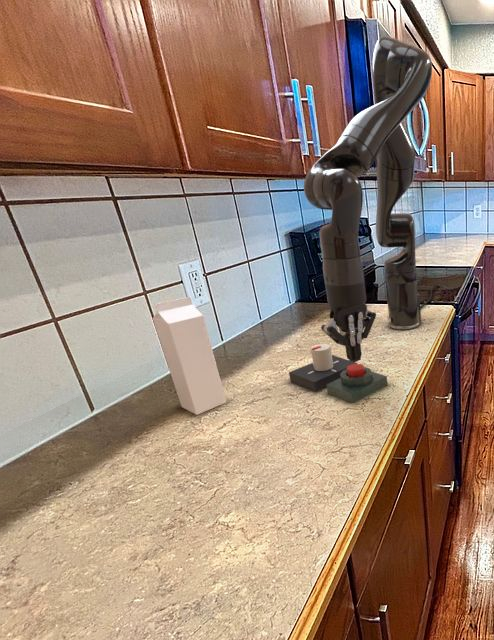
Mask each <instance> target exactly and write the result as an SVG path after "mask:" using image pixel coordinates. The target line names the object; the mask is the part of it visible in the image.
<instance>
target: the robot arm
mask: <svg viewBox="0 0 494 640" xmlns="http://www.w3.org/2000/svg"><path fill="white" fill-rule="evenodd" d="M371 72H372V85H373V95H374V96H373V97H374V104H373V105H371V106H369V107H367V108H365V109H362V110H361V111H360V112H358V113H357V114H356V115H354V117H352V119H350V121H349V122H348V123H347V125H346V126H345V128H344V130H343V131H342V133H341V135H340V136H339V137H338V139H337V141H336V143H335V144H334V145H333V146H332V147H331V148H330V149H329V150H328V151H326V152H325V153H324V154H323V155H322V156H321V157H320V158H319V159H318V160H317V161H316V162H314V163H313V165H311V167H310V168H309V169H308V172H307V173H306V176H305V178H304V181H303V192H304V196H305V198H306V200H307V202H308V203H309V204H310V205H311V206H312V207H315V209H319V210H324V211H325V210H326V211H327V210H328V211H329V210H330V211H331V217H330V223H327V224H324V225H322V226H321V227H320V228H319V232H318V233H319V242H320V250H321V256H322V273H323V280H324V286H325V287H324V288H325V294H326V300H327V304H328V306H329V308H330V311H329V315H328V316H329V320H328V322H327V323H326V324H324V323H323V324H322V325H321V327H320V330H321V331H322V332H323V333H325V334H326V335H327V336H328V337H329V338H330V339H331V340H332V341H333V342H334V343H335V344H337V345H341V346H343V347H345V353H346V354H345V355H346V359H347V360H349V361H352V362H355V363H358V362H359V361H361V360H362V355H363V354H362V353H363V352H362V345H361V344H362V341H363V340H364V339H367V338H368V337H369V335H370V332H371V330H372V327H373V325H374V322H375V320H376V317H377V313H376V312H375V311H370V310H369V309H368V306H367V304H366V301H367V290H366V281H365V271H364V265H363V261H362V257H361V247H360V238H359V230H360V225H361V217H362V211H363V204H364V192H363V187H362V184H361V181H360V179H359V178H358V177H360V176H362V175H365V174H366V173H367V172H369V171H370V169H371V167H372V166H373V164H374V162H375V161H376V166H375V167H376V186H377V187H376V188H377V189H376V191H377V195H376V196H377V199H376V213H375V214H376V215H375V237H376V241H377V243H378V245H379V246H380V247H382V248H387V249H388V248H402V249H401V251H400V252H399V253H397V254H396V255H395V256H392V257H390V258H387V259H386V260H385V261H384V262H383V266H384V278H385V288H386V300H387V301H386V302H387V314H388V315H387V316H386V317H387V321H388V326H389V328H391V329H394V330H411V329H416V328H417V327H419V326H420V324H421V323H422V314H421V309H422V308H423V307H425V306H426V305H427V304H428V303H429V302H430V301H431V300H432V299H433V291H434V290H435V289H436V288H440V285H439V284H435V285H433V287H432V288H431V289H430V290H429V292H430V294H429V297H428V299H427V300H426V301H424V302H423V303H422V304H421V296H420V293H419V292H418V283H417V282H418V279H417V264H416V263H417V262H416V258H417V257H416V224H415V220H414V217H413V216H412V214H410V213H407V212H405V213H401V212H400V213H392V212H393V210H394V208H395V206H396V204H397V203H398V201H399V200H400V199H401V198H402V197H403V196H404V195H405V193H406V192H407V191H408V190H409V189H410V186H411V185H412V183H413V181H414V178H415V167H416V150H415V147H414V144H413V142H412V139H411V136H410V135H409V132H408V130H407V128H406V126H405V124H404V121H405V120H406V119H407V118H408V116H409V115H410V114H411V113H412V112H413V111H414V109H416V107H417V106H418V105H419V104H420V103H421V101H422V100H423V98H424V97H425V95H426V94H427V92H428V89H429V88H430V84H431V82H432V81H431V80H432V76H433V75H432V74H433V63H432V58H431V56H430V54H429V53H428V52H427V51H426V50H424V49H422V48H419V47H417V46H414V45H412V44H409V43H407V42H404V41H402V40H399V39H397V38H395V37H391V36H388V35H384V36H381V37H380V38H379V39H377V41H376V44H375V47H374V50H373V55H372V71H371Z"/></svg>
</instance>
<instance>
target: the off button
mask: <svg viewBox="0 0 494 640" xmlns="http://www.w3.org/2000/svg"><path fill="white" fill-rule="evenodd" d="M364 367H365V365H363V364H362V363H357V364H352V365H349V366H348V367H347V374H348V376H349V377H359V376H362V375H365V370H364Z"/></svg>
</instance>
